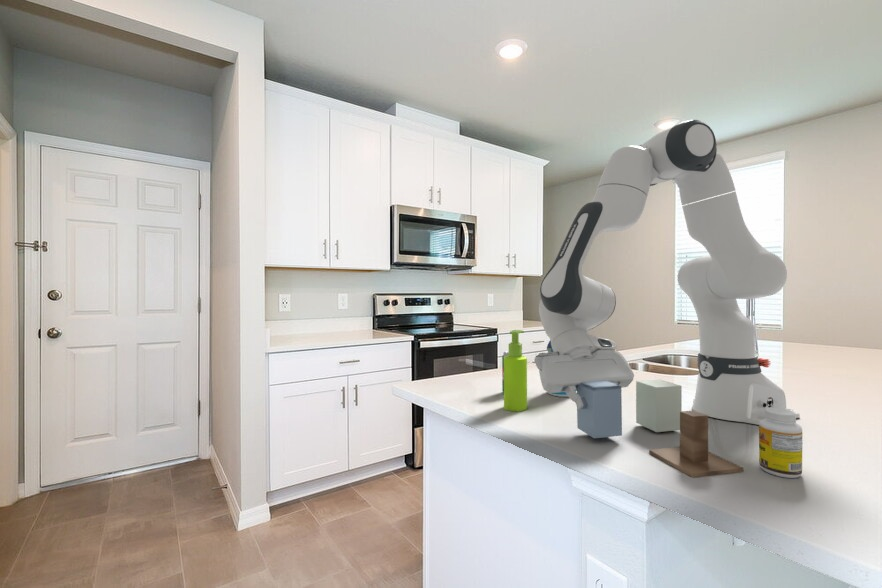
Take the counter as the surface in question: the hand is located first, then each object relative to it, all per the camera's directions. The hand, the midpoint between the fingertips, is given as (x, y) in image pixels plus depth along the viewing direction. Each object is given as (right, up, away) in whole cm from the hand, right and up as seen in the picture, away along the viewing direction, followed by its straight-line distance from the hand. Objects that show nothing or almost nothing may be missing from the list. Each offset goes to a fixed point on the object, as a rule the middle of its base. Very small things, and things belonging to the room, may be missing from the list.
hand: (600, 406), depth 83 cm
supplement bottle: (+24, -7, -15) cm, 29 cm away
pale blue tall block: (0, -5, +1) cm, 5 cm away
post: (+12, -7, -11) cm, 18 cm away
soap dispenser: (-13, -7, +23) cm, 27 cm away
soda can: (-12, -7, +37) cm, 39 cm away
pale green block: (+15, -7, +6) cm, 17 cm away
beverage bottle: (+3, -6, +36) cm, 37 cm away
